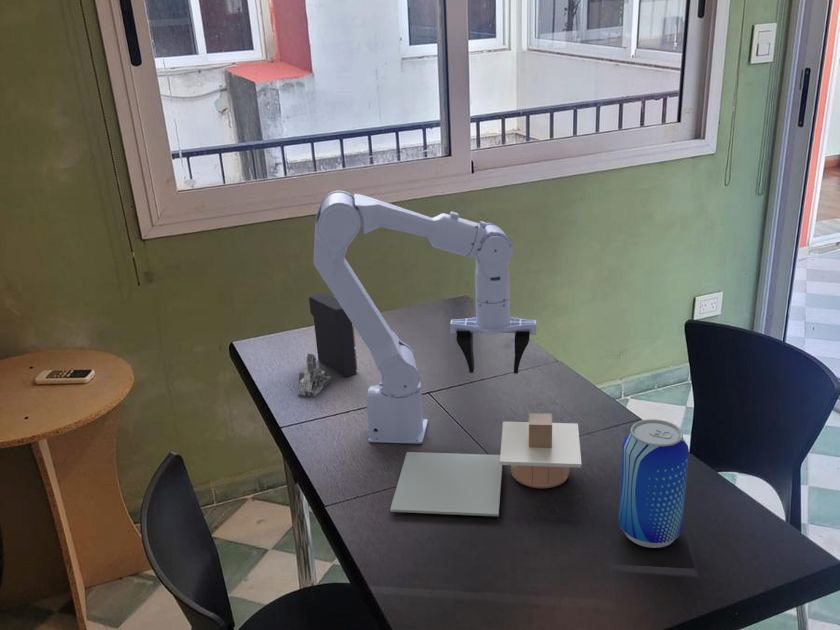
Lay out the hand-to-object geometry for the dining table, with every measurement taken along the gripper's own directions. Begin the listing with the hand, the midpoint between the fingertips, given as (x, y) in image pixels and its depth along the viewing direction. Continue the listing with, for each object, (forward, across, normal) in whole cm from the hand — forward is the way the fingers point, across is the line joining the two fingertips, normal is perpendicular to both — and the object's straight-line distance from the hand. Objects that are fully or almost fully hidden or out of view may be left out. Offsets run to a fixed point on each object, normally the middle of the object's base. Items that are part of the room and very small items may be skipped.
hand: (493, 370), depth 135 cm
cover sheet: (+5, +8, -16) cm, 19 cm away
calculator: (+10, -34, +21) cm, 41 cm away
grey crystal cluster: (+10, -38, +13) cm, 42 cm away
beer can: (+10, +23, -30) cm, 39 cm away
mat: (+10, -6, -20) cm, 23 cm away
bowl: (+10, +8, -16) cm, 20 cm away
